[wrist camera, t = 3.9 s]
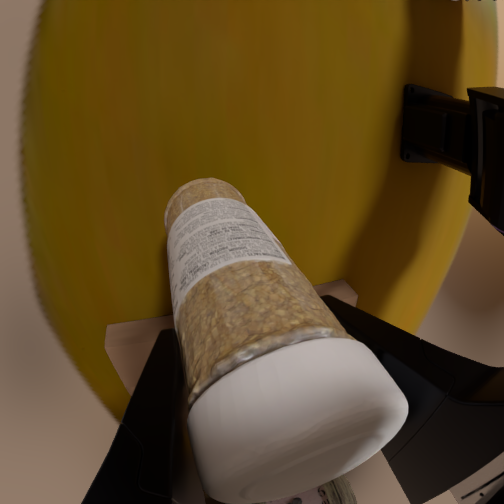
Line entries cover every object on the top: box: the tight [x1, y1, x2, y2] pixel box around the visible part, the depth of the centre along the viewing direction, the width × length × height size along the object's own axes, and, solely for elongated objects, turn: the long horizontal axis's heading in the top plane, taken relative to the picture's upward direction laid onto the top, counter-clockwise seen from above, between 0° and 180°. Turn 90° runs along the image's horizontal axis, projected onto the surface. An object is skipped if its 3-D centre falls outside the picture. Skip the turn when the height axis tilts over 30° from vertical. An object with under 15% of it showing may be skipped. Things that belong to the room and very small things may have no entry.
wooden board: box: [105, 279, 358, 396], centre depth 26 cm, size 20×17×2 cm
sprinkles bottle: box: [164, 178, 408, 504], centre depth 10 cm, size 5×5×13 cm
